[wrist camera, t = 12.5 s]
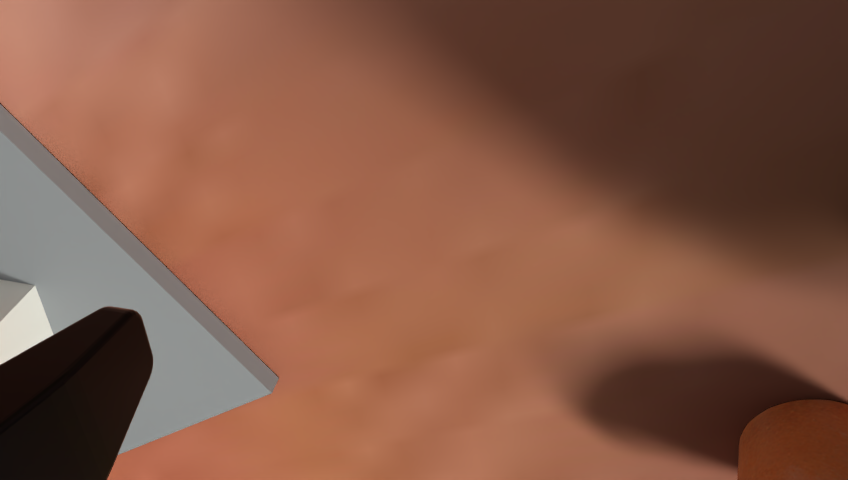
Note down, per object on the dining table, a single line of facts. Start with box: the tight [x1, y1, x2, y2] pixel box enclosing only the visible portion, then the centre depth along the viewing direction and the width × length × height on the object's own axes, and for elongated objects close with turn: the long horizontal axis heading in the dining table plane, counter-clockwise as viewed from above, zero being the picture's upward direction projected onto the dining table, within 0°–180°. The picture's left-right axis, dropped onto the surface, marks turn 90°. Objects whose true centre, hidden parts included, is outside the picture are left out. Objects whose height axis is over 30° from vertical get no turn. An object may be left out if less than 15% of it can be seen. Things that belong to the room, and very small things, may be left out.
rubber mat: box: [0, 104, 279, 455], centre depth 30 cm, size 16×16×1 cm
